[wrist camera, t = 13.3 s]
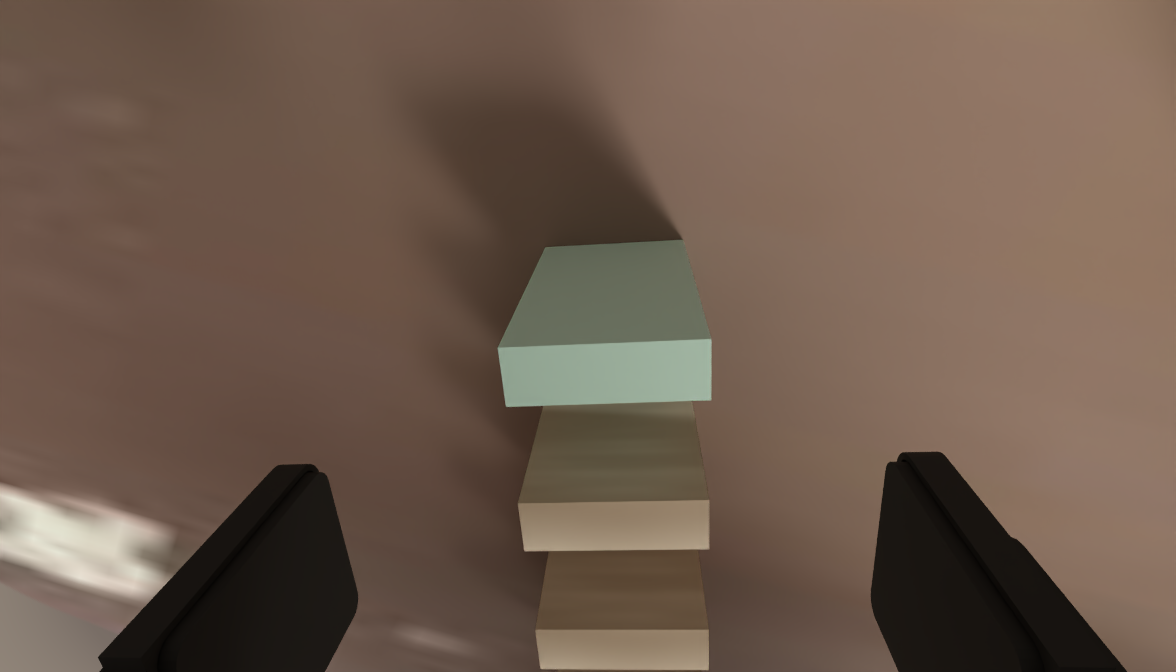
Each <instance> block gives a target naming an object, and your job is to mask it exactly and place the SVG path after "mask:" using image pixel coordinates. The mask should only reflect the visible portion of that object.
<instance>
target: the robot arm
mask: <svg viewBox="0 0 1176 672" xmlns="http://www.w3.org/2000/svg"><path fill="white" fill-rule="evenodd" d="M871 603H872V609H873V613H874V616H875V619H876V621H877V623H878V625H879V628H880V630H881V632H882V635H883V637H884V639H885V641H886V644H887V646H888V648H889V651H890V653H891V655H892V658H893V660H894V662H895V664H896V667H897V669H898V671H899V672H1127V671H1126V670H1125V668H1124V667H1123V666H1122V665H1121V664H1120V662H1119V661H1118V660H1117V659H1116V657H1115V656H1114V655H1113V654H1112V653H1111V651H1110V650H1109V649H1108V648H1107V646H1106V645H1105V644H1104V643H1103V642H1102V640H1101V639H1100V638H1099V637H1098V636H1097V634H1096V633H1095V632H1094V631H1093V629H1092V628H1091V627H1090V626H1089V625H1088V623H1087V622H1086V621H1085V620H1084V618H1083V617H1082V616H1081V615H1080V614H1079V612H1078V611H1077V610H1076V609H1075V608H1074V606H1073V605H1072V604H1071V603H1070V601H1069V600H1068V599H1067V598H1066V597H1065V595H1064V594H1063V593H1062V592H1061V590H1060V589H1059V588H1058V587H1057V586H1056V584H1055V583H1054V582H1053V581H1052V579H1051V578H1050V577H1049V576H1048V575H1047V573H1046V572H1045V571H1044V570H1043V569H1042V567H1041V566H1040V565H1039V564H1038V562H1037V561H1036V560H1035V559H1034V558H1033V556H1032V555H1031V554H1030V553H1029V551H1028V550H1027V549H1026V548H1025V547H1024V546H1023V545H1022V544H1021V543H1020V542H1019V541H1018V540H1017V539H1015V538H1012V537H1010V535H1009V534H1008V533H1007V532H1006V531H1005V529H1004V528H1003V527H1002V526H1001V524H1000V523H999V522H998V521H997V519H996V518H995V517H994V516H993V514H992V513H991V512H990V511H989V510H988V508H987V507H986V506H985V505H984V503H983V502H982V501H981V500H980V498H979V497H978V496H977V495H976V493H975V492H974V491H973V490H972V488H971V487H970V486H969V485H968V484H967V482H966V481H965V480H964V479H963V477H962V476H961V475H960V474H959V472H958V471H957V470H956V469H955V467H954V466H953V465H952V464H951V462H950V461H949V460H948V459H947V458H946V456H945V455H944V454H942V453H941V452H903V453H901V454H900V455H899V457H898V459H897V462H889V463H888V464H887V466H886V471H885V479H884V488H883V496H882V504H881V512H880V521H879V529H878V537H877V546H876V554H875V562H874V571H873V579H872V587H871ZM357 605H358V592H357V588H356V584H355V580H354V576H353V572H352V568H351V565H350V561H349V557H348V553H347V549H346V545H345V542H344V538H343V534H342V530H341V526H340V523H339V519H338V515H337V511H336V507H335V503H334V500H333V496H332V492H331V488H330V484H329V480H328V478H327V476H326V475H325V473H322V472H319V471H318V469H317V468H316V467H315V466H314V465H312V464H292V465H278V466H276V467H275V468H274V469H273V470H272V471H271V472H270V473H269V474H268V475H267V476H266V477H265V478H264V479H263V480H262V481H261V483H260V484H259V485H258V486H257V487H256V488H255V489H254V490H253V491H252V492H251V493H250V494H249V495H248V497H247V498H246V499H245V500H244V501H243V502H242V503H241V504H240V505H239V506H238V507H237V508H236V509H235V510H234V512H233V513H232V514H231V515H230V516H229V517H228V518H227V519H226V520H225V521H224V522H223V523H222V524H221V526H220V527H219V528H218V529H217V530H216V531H215V532H214V533H213V534H212V535H211V536H210V537H209V538H208V539H207V541H206V542H205V543H204V544H203V545H202V546H201V547H200V548H199V549H198V550H197V551H196V552H195V553H194V555H193V556H192V557H191V558H190V559H189V560H188V561H187V562H186V563H185V564H184V565H183V566H182V567H181V568H180V570H179V571H178V572H177V573H176V574H175V575H174V576H173V577H172V578H171V579H170V580H169V581H168V582H167V584H166V585H165V586H164V587H163V588H162V589H161V590H160V591H159V592H158V593H157V594H156V595H155V596H154V597H153V599H152V600H151V601H150V602H149V603H148V604H147V605H146V606H145V607H144V608H143V609H142V610H141V611H140V613H139V614H138V615H137V616H136V617H135V618H134V619H133V620H132V621H131V622H130V623H129V624H128V625H127V626H126V628H125V629H124V630H123V631H122V632H121V633H120V634H119V635H118V636H117V637H116V638H115V639H114V640H113V642H112V643H111V644H110V645H109V646H108V647H107V648H106V649H105V650H104V651H103V652H102V653H101V654H100V656H99V657H98V658H99V660H100V662H101V664H102V667H103V668H102V669H101V671H100V672H325V671H326V669H327V667H328V665H329V663H330V661H331V659H332V657H333V655H334V654H335V652H336V650H337V648H338V646H339V644H340V642H341V640H342V638H343V636H344V635H345V633H346V631H347V629H348V627H349V625H350V623H351V621H352V619H353V617H354V615H355V613H356V610H357Z"/></svg>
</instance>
